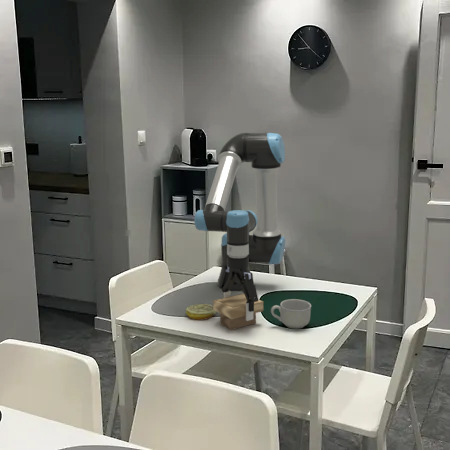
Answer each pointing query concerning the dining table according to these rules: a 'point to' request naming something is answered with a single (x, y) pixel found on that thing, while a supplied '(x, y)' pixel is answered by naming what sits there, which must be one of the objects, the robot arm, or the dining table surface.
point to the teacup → (293, 313)
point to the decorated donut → (200, 311)
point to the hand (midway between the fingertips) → (238, 314)
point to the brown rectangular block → (236, 321)
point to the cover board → (235, 306)
